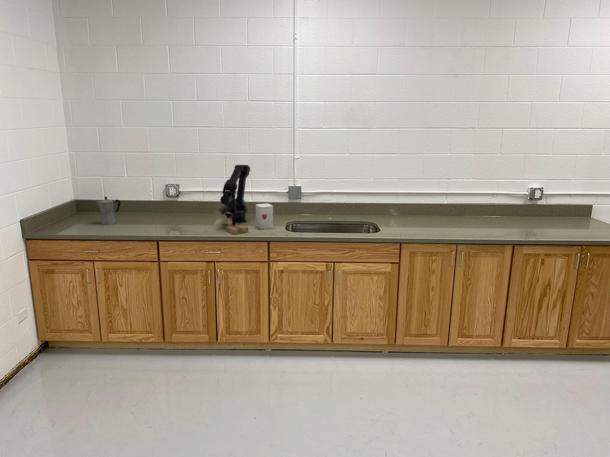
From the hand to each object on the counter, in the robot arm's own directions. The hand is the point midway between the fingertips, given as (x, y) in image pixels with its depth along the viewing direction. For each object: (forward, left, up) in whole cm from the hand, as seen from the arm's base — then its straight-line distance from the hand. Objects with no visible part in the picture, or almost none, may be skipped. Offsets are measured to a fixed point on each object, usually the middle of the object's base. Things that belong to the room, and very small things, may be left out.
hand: (231, 225), depth 301 cm
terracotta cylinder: (0, 0, -1) cm, 1 cm away
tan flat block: (+3, +13, -1) cm, 13 cm away
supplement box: (-17, +13, -2) cm, 21 cm away
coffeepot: (+62, -54, -2) cm, 82 cm away
